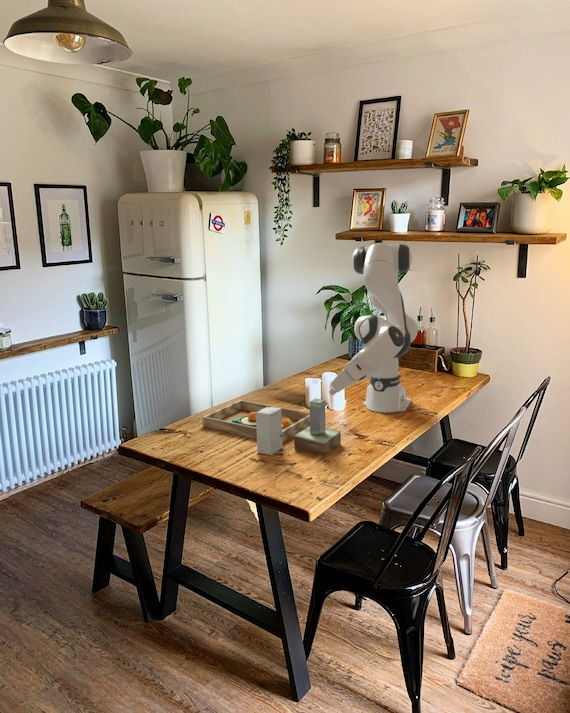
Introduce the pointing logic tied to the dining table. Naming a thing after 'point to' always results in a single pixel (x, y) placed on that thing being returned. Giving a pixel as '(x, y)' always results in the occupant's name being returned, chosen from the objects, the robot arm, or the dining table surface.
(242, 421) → the toy juicer set
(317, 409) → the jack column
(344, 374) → the robot arm
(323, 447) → the block
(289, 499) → the dining table surface
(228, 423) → the shallow serving tray
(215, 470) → the dining table surface
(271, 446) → the skincare box
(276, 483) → the dining table surface
